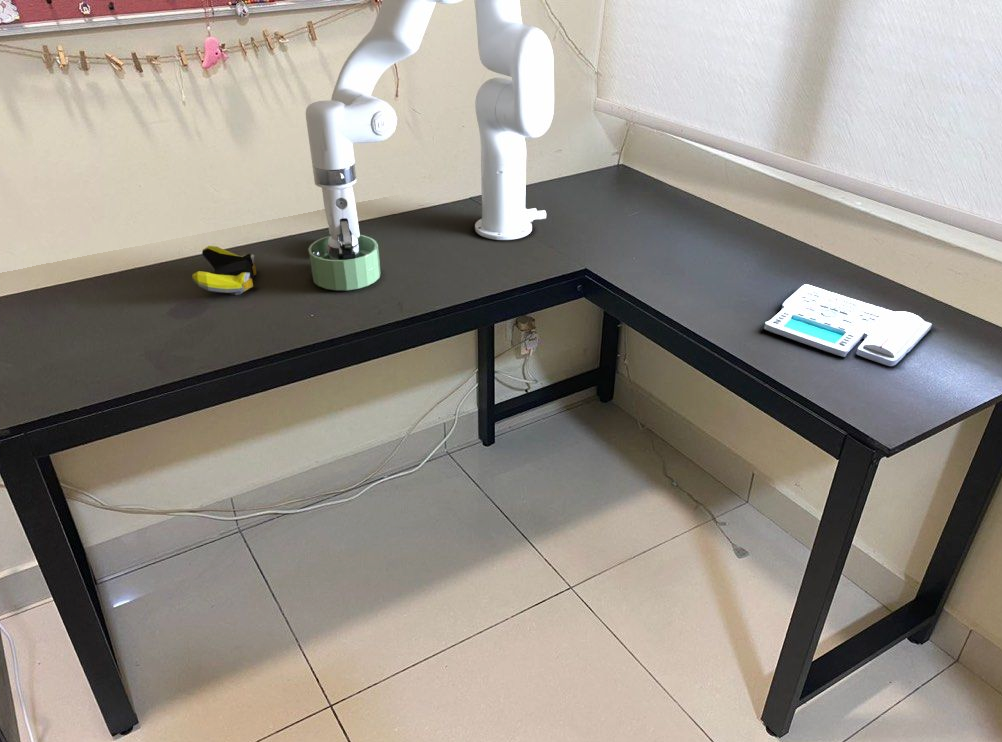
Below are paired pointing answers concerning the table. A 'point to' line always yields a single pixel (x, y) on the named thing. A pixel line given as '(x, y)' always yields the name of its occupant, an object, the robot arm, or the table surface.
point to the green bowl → (345, 266)
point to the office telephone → (847, 325)
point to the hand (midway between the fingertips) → (345, 265)
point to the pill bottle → (334, 245)
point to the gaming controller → (226, 272)
